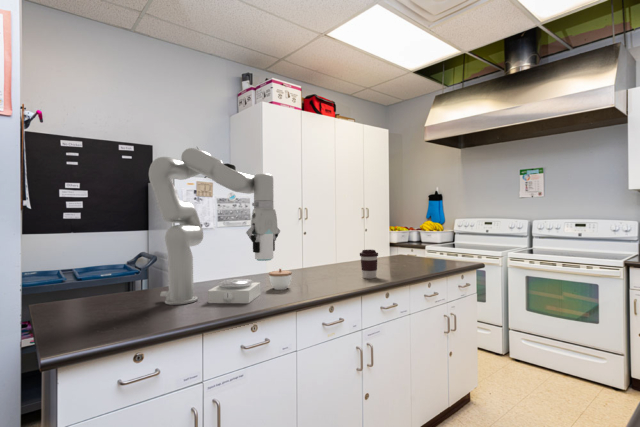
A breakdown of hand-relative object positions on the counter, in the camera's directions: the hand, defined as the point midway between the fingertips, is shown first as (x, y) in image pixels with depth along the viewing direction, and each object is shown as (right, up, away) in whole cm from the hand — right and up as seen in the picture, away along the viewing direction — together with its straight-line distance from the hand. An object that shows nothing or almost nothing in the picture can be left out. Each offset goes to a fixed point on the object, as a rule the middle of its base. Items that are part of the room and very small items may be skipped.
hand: (264, 251), depth 136 cm
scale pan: (-14, -15, +12) cm, 24 cm away
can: (0, -4, 0) cm, 4 cm away
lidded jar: (+3, -21, +31) cm, 37 cm away
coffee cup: (+49, -20, +54) cm, 76 cm away
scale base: (-14, -21, +12) cm, 28 cm away
